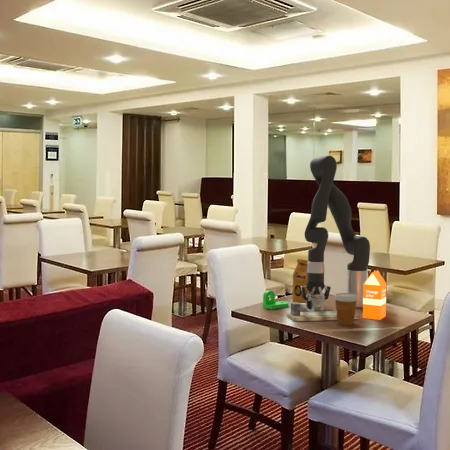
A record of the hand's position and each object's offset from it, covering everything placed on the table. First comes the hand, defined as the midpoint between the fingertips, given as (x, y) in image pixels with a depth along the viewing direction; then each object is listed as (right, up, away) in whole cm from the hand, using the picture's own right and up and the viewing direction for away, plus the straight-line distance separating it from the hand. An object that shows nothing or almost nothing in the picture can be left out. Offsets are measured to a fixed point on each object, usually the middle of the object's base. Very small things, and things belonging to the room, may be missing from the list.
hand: (315, 308), depth 262 cm
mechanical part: (-16, -1, +11) cm, 20 cm away
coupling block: (0, -1, 0) cm, 1 cm away
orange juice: (+24, -2, -10) cm, 26 cm away
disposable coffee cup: (+9, -3, -24) cm, 25 cm away
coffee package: (-2, -1, +16) cm, 16 cm away
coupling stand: (+1, -2, -12) cm, 12 cm away
